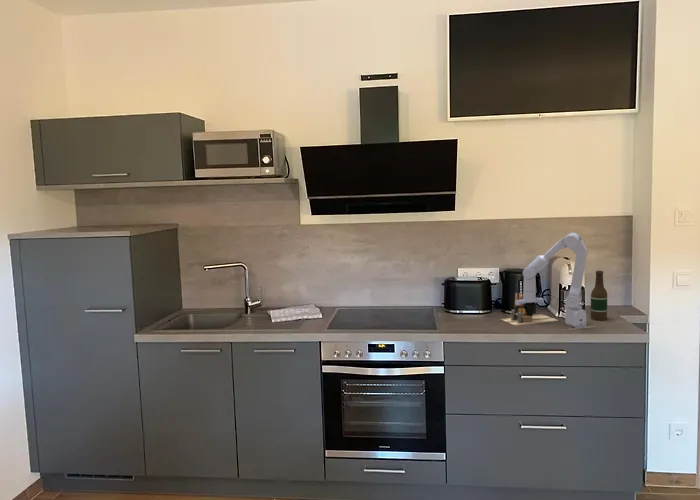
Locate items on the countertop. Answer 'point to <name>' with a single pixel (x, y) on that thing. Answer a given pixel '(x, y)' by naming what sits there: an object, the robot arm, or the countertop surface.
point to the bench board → (535, 319)
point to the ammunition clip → (521, 305)
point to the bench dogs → (518, 316)
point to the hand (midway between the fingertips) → (529, 317)
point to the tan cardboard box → (524, 318)
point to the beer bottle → (599, 299)
